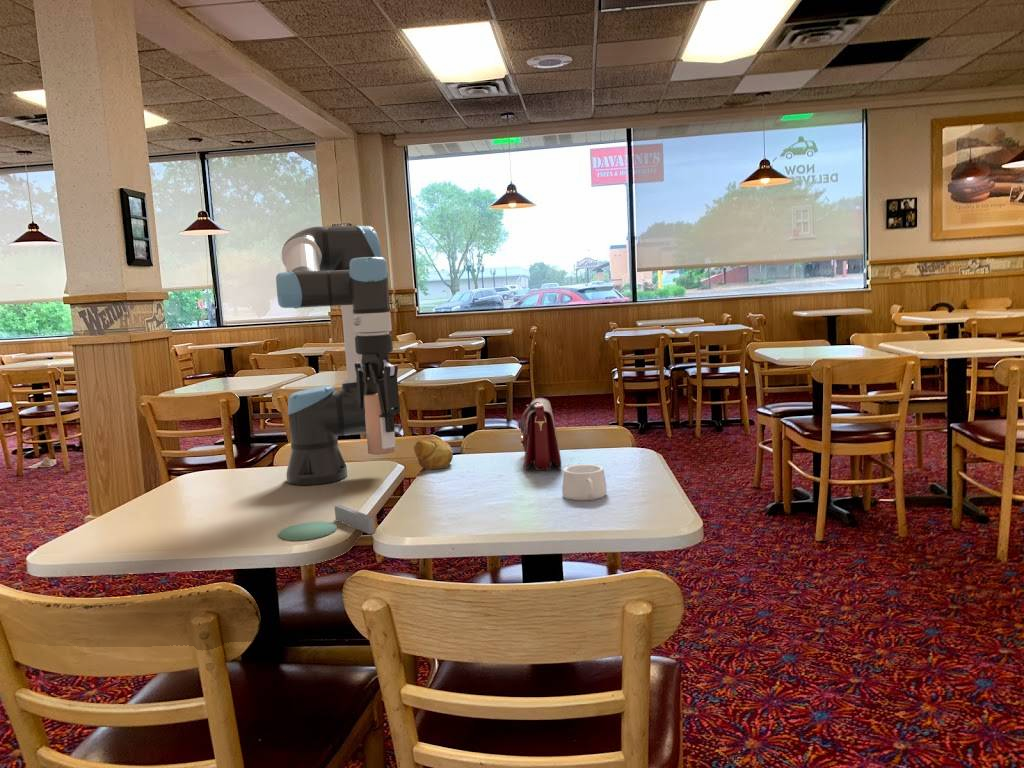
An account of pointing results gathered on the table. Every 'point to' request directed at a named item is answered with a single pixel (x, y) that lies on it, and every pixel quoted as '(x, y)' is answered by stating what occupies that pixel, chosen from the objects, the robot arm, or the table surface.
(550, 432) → the handbag
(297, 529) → the pad
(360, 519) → the rail
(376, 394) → the peach rounded cylinder
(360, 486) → the table surface
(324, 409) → the robot arm
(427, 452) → the bread roll
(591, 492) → the mug
